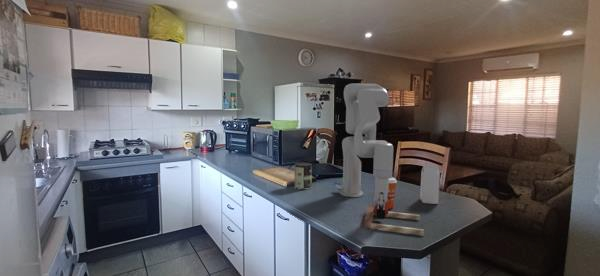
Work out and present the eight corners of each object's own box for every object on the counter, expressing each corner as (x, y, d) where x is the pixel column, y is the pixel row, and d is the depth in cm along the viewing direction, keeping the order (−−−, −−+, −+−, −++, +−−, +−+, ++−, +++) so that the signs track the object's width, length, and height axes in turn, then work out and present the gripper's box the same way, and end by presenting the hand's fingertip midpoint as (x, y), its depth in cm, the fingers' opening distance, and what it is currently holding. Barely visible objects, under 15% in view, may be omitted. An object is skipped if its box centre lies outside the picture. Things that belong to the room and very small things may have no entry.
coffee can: (311, 185, 174) (311, 162, 173) (311, 189, 164) (312, 165, 162) (294, 184, 174) (294, 162, 173) (294, 189, 164) (294, 165, 162)
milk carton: (438, 204, 141) (440, 166, 139) (422, 203, 142) (424, 165, 140) (434, 199, 148) (436, 163, 146) (419, 198, 149) (421, 163, 147)
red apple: (371, 216, 121) (372, 198, 120) (384, 216, 122) (385, 197, 121) (376, 221, 116) (377, 202, 115) (390, 221, 116) (391, 202, 115)
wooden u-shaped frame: (364, 228, 113) (365, 218, 112) (367, 213, 128) (368, 204, 128) (423, 235, 106) (423, 225, 106) (419, 219, 122) (419, 210, 121)
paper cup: (387, 210, 132) (388, 181, 130) (375, 205, 138) (376, 177, 137) (399, 208, 135) (400, 179, 134) (387, 203, 142) (388, 175, 141)
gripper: (374, 168, 126) (372, 207, 128) (371, 177, 109) (370, 222, 111) (392, 169, 124) (390, 209, 126) (392, 179, 107) (390, 225, 109)
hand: (380, 215), depth 118 cm, fingers closed on red apple, 5 cm apart
